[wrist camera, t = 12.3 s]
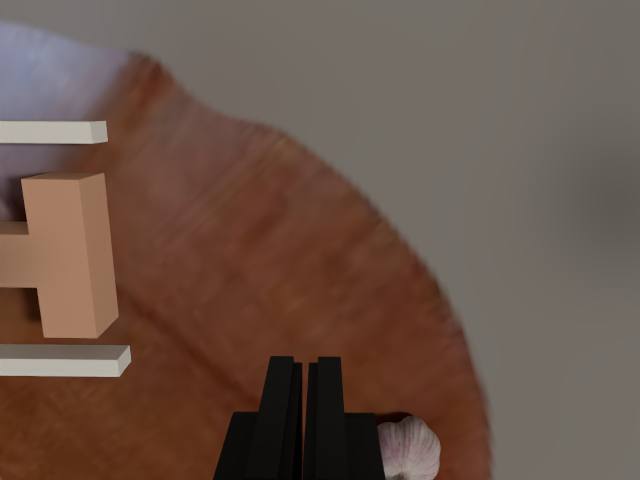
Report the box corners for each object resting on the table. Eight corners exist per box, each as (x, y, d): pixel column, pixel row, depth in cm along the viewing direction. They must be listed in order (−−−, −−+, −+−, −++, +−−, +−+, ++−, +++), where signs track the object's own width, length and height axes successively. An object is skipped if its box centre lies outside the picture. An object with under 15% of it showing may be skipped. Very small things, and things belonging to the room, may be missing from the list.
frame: (131, 361, 41) (119, 376, 39) (-43, 359, 41) (-66, 374, 39) (105, 121, 36) (90, 121, 34) (-94, 119, 36) (-124, 120, 34)
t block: (118, 316, 40) (96, 338, 36) (-25, 313, 40) (-62, 335, 37) (104, 172, 37) (78, 180, 33) (-51, 170, 37) (-95, 177, 33)
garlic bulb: (425, 397, 42) (447, 461, 34) (445, 464, 44) (471, 540, 36) (342, 420, 43) (346, 488, 35) (366, 485, 45) (375, 564, 37)
